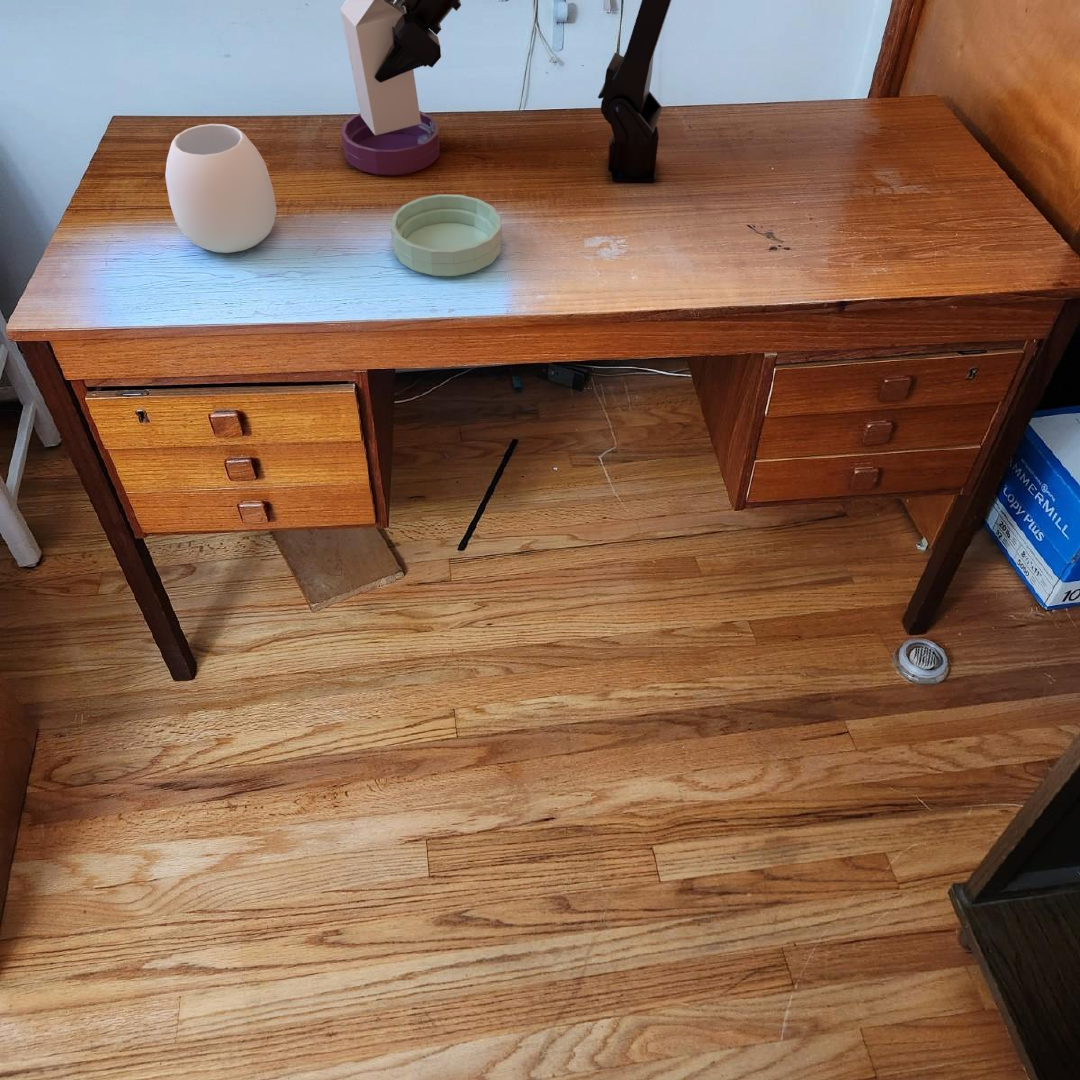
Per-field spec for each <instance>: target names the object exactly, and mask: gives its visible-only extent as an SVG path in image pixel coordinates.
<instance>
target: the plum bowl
mask: <svg viewBox="0 0 1080 1080" xmlns="http://www.w3.org/2000/svg"><path fill="white" fill-rule="evenodd" d="M419 112H420V119H421V124H419V125H415V126H411V127H407V128H403V129H399V130H395V131H391V132H387V133H383V134H379V135H374V133H373V132H372V131H371V129H370V128H369V127H368V125H367V124H366V123H365V121H364V120H363V119H362V117H361V114H360V112H359V113H357V114H354V115H352V116H351V117H350V118H348V119H347V120H346V121H345V122H344V123H342V127H341V132H340V136H341V143H342V150H343V151H342V152H343V156H344V157H345V159H346V160H347V163H348V164H349V165H351V167H352V166H353V167H354V168H356V169H358V170H359V171H362V172H365V173H368V174H372V175H378V176H389V177H390V176H402V175H408V174H412V173H415V172H418V171H421V170H423V169H425V168H427V167H429V166H431V165H432V164H433V163H434V162H436V160H437V159H438V158H439V157H440V153H441V139H440V138H441V136H440V125H439V123H438V122H437V121H436V118H434V117H433V116H432V115H429V114H427V113H425V112H423V111H421V110H419Z"/></svg>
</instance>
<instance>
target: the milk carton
mask: <svg viewBox="0 0 1080 1080" xmlns="http://www.w3.org/2000/svg"><path fill="white" fill-rule="evenodd" d="M339 10H340V14H341V20H342V25H343V31H344V35H345V41H346V47H347V52H348V57H349V63H350V67H351V72H352V78H353V83H354V89H355V93H356V98H357V103H358V109H359V113H360V114H361V117H362V119H363V120H364V121H365V123H366V124H367V125H368V127H369V128H370V129H371V131H372V132H373V133H374V135H379V134H383V133H387V132H391V131H395V130H399V129H403V128H407V127H411V126H415V125H419V124H421V119H420V112H419V111H420V106H419V100H418V93H417V86H416V78H415V72H414V69H413V70H410V71H407V72H405V73H402V74H400V75H398V76H395V77H393V78H391V79H388V80H386V81H384V82H381V83H380V82H378V81H377V80H376V79H375V74H376V72H377V71H378V69H379V67H380V65H381V63H382V62H383V60H384V58H385V56H386V55H387V53H388V51H389V49H390V48H391V46H392V44H393V36H392V26H393V27H394V28H395V25H396V23H397V21H398V20H399V18H400V17H401V16H402V15H403V14H404V13H403V12H402V11H401V10H400V9H399V8H398V7H397V6H396V5H395V4H394V3H393V2H392V0H345V1H344V2H343V4H342V5H341V6H340V8H339Z"/></svg>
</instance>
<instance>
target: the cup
mask: <svg viewBox="0 0 1080 1080" xmlns="http://www.w3.org/2000/svg"><path fill="white" fill-rule="evenodd" d="M165 164H166V165H165V166H166V167H165V175H164V176H165V184H166V189H167V196H168V200H169V205H170V208H171V212H172V216H173V218H174V221H175V225H176V226H177V227H178V228H179V230H180V232H182V234H183V235H184V236H185V238H187V239H188V241H190V242H191V243H192V244H194V245H196V246H198V247H200V248H202V249H203V250H207V251H210V252H213V253H224V254H230V253H237V252H242V251H246V250H248V249H250V248H251V249H252V248H254V247H255V246H257V245H258V244H259V243H260V242H262V241H263V240H265V239H266V238H267V236H269V234H270V233H271V231H272V229H273V227H274V226H275V225H274V224H275V221H276V215H277V210H278V208H277V203H276V197H275V191H274V187H273V184H272V180H271V177H270V174H269V171H268V167H267V164H266V161H265V160H264V158H263V157H262V155H261V153H260V152H259V150H258V149H257V147H256V146H255V145H254V143H253V142H252V141H251V140H250V139H249V137H247V135H246V134H245V133H244V132H243V131H242V130H241V129H239V128H237V127H235V126H232V125H228V124H223V123H218V124H217V123H208V124H200V125H196V126H192V127H189V128H186V129H184V130H183V131H181V132H179V133H178V134H176V135H175V137H174V138H173V139H172V141H171V143H170V147H169V150H168V154H167V157H166V163H165Z"/></svg>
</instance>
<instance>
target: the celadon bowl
mask: <svg viewBox="0 0 1080 1080" xmlns="http://www.w3.org/2000/svg"><path fill="white" fill-rule="evenodd" d="M390 234H391V235H390V236H391V244H392V251H393V253H394V255H395V257H396V259H397V260H398V262H399V263H401V264H402V265H404V266H405V267H407V268H409V269H410V270H411V271H414V272H418V273H422V274H425V275H429V276H433V277H434V276H435V277H458V276H463V275H467V274H471V273H475V272H478V271H479V270H482V269H484V268H485V267H487V266H490V265H491V264H493V262H494V261H495V260H496V259H497V258H498V256H499V255H500V254H501V252H502V217H501V215H500V214H499V213H498V211H497V209H496V208H495V207H494V206H493V205H491V204H489V203H487V202H486V201H483V200H482V199H480V198H476V197H472V196H467V195H462V194H449V193H447V194H446V193H445V194H442V193H437V194H433V195H428V196H421V197H418V198H416V199H414V200H411V201H409V202H407V203H405V204H403V205H402V206H401V207H399V209H397V210H396V211H395V212H394V213H393V214H392V216H391V223H390Z"/></svg>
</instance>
